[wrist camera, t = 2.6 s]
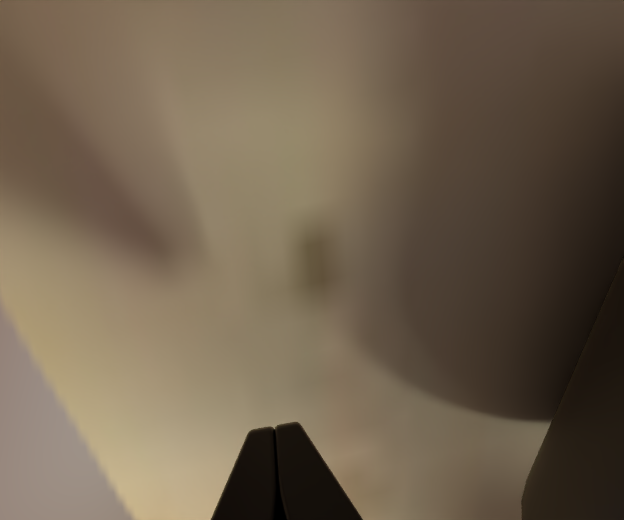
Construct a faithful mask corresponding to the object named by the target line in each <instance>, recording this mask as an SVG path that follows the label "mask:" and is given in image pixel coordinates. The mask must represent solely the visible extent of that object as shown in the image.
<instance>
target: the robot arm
mask: <svg viewBox="0 0 624 520" xmlns="http://www.w3.org/2000/svg"><path fill="white" fill-rule="evenodd" d="M211 520H363V519H362V517H361V516H360V514H359V513H358V511H357V510H356V508H355V507H354V505H353V504H352V502H351V501H350V499H349V498H348V496H347V495H346V493H345V492H344V490H343V488H342V487H341V485H340V484H339V482H338V481H337V479H336V478H335V476H334V475H333V473H332V472H331V470H330V469H329V467H328V466H327V464H326V463H325V461H324V460H323V458H322V456H321V455H320V453H319V452H318V450H317V449H316V447H315V446H314V444H313V443H312V441H311V440H310V438H309V437H308V435H307V434H306V432H305V431H304V429H303V427H302V426H301V425H300V424H299V423H298V422H292V423H286V424H281V425H277V426H276V427H275V430H274V428H273V427H264V428H258V429H253V430H251V431H250V432H249V433H248V435H247V437H246V439H245V441H244V444H243V446H242V448H241V451H240V453H239V455H238V458H237V460H236V462H235V465H234V467H233V469H232V472H231V474H230V476H229V478H228V481H227V483H226V485H225V488H224V490H223V492H222V495H221V497H220V499H219V502H218V504H217V506H216V509H215V511H214V513H213V516H212V518H211Z"/></svg>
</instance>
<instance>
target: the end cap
mask: <svg viewBox="0 0 624 520" xmlns="http://www.w3.org/2000/svg"><path fill="white" fill-rule="evenodd" d="M521 504H522V520H624V256H623V259H622V261H621V263H620V266H619V268H618V270H617V273H616V275H615V277H614V279H613V282H612V284H611V286H610V289H609V291H608V293H607V296H606V298H605V300H604V302H603V305H602V307H601V309H600V312H599V314H598V316H597V319H596V321H595V323H594V326H593V328H592V330H591V332H590V335H589V337H588V339H587V342H586V344H585V346H584V349H583V351H582V353H581V356H580V358H579V360H578V362H577V365H576V367H575V369H574V372H573V374H572V376H571V379H570V381H569V383H568V386H567V388H566V390H565V392H564V395H563V397H562V399H561V402H560V404H559V406H558V409H557V411H556V413H555V416H554V418H553V420H552V422H551V425H550V427H549V429H548V432H547V434H546V436H545V439H544V441H543V443H542V446H541V448H540V450H539V452H538V455H537V457H536V459H535V462H534V464H533V466H532V469H531V471H530V473H529V476H528V478H527V481H526V484H525V488H524V492H523V496H522V501H521Z"/></svg>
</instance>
